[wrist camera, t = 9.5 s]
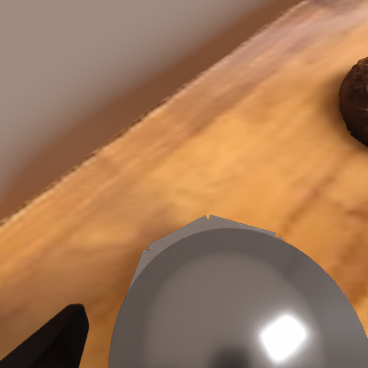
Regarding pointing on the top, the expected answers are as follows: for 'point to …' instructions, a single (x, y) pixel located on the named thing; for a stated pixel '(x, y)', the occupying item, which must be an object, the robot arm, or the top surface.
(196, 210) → the top surface
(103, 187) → the top surface
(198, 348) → the grey cylinder with base
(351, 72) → the bread roll
